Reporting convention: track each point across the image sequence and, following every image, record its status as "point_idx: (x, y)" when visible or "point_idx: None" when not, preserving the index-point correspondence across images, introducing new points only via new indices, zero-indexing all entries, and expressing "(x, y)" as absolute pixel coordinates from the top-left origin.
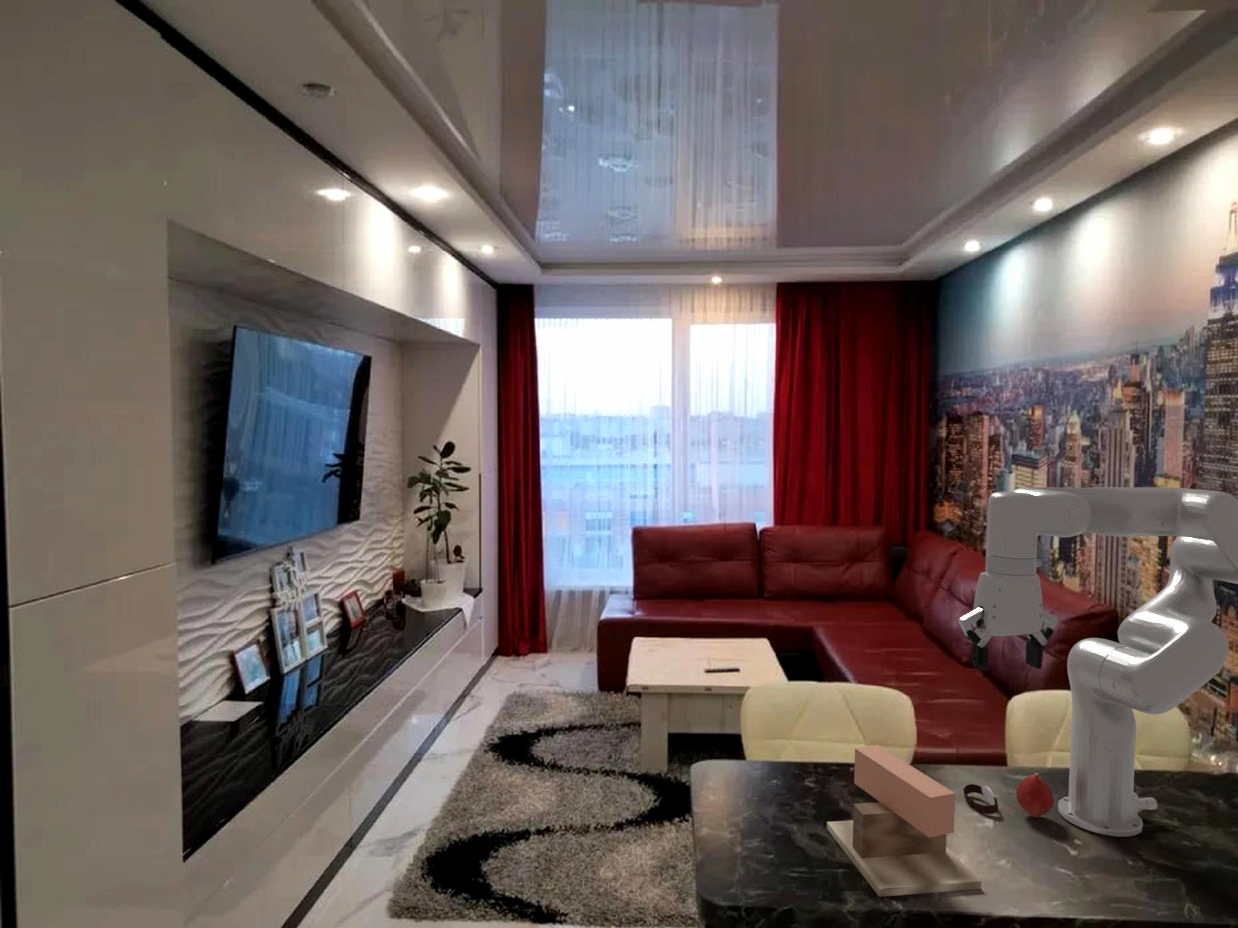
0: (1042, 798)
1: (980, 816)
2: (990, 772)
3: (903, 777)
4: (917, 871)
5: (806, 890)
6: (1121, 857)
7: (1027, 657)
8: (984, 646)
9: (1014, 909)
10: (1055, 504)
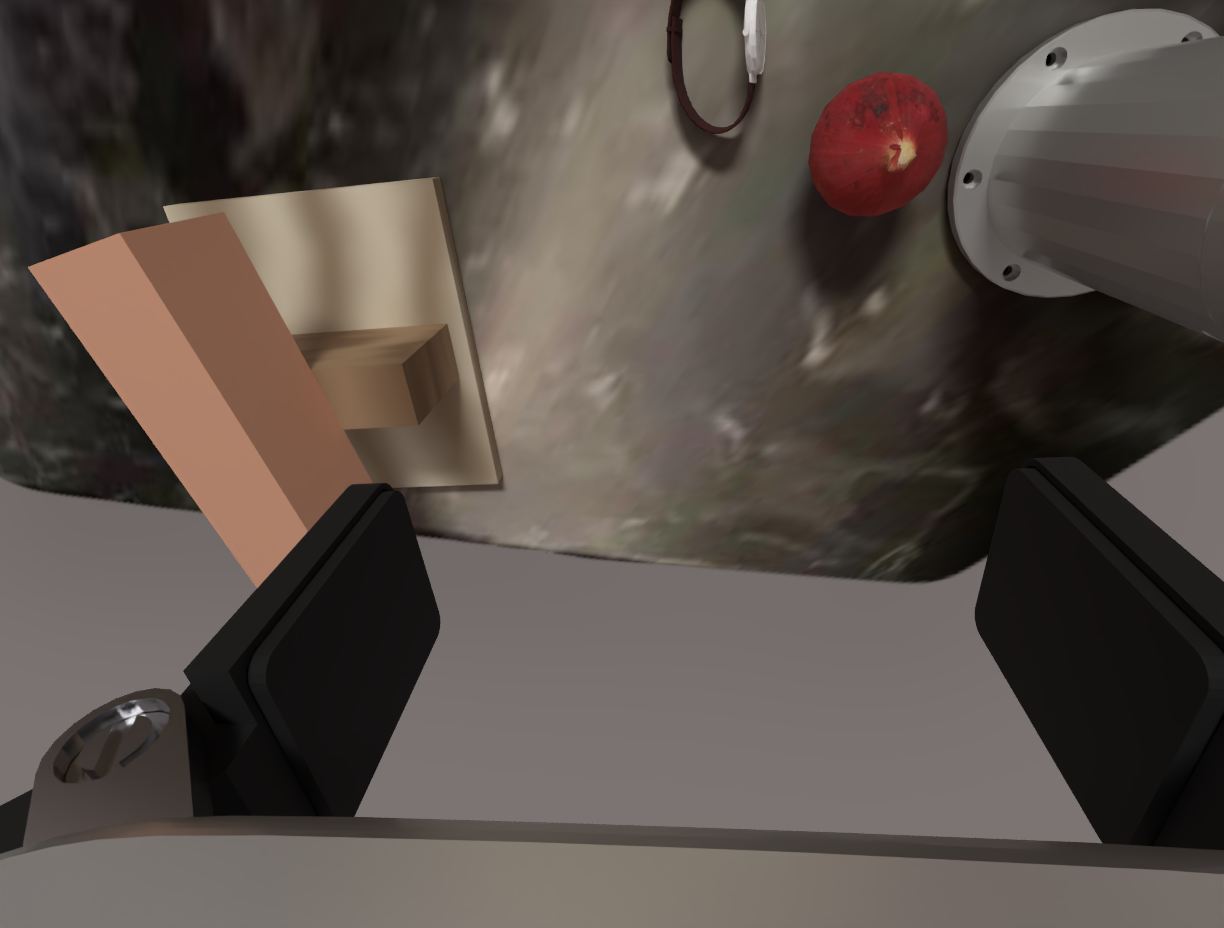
0: (862, 214)
1: (669, 136)
2: None
3: (212, 506)
4: (370, 444)
5: (151, 455)
6: (928, 384)
7: (1047, 531)
8: (301, 814)
9: (539, 533)
10: None
